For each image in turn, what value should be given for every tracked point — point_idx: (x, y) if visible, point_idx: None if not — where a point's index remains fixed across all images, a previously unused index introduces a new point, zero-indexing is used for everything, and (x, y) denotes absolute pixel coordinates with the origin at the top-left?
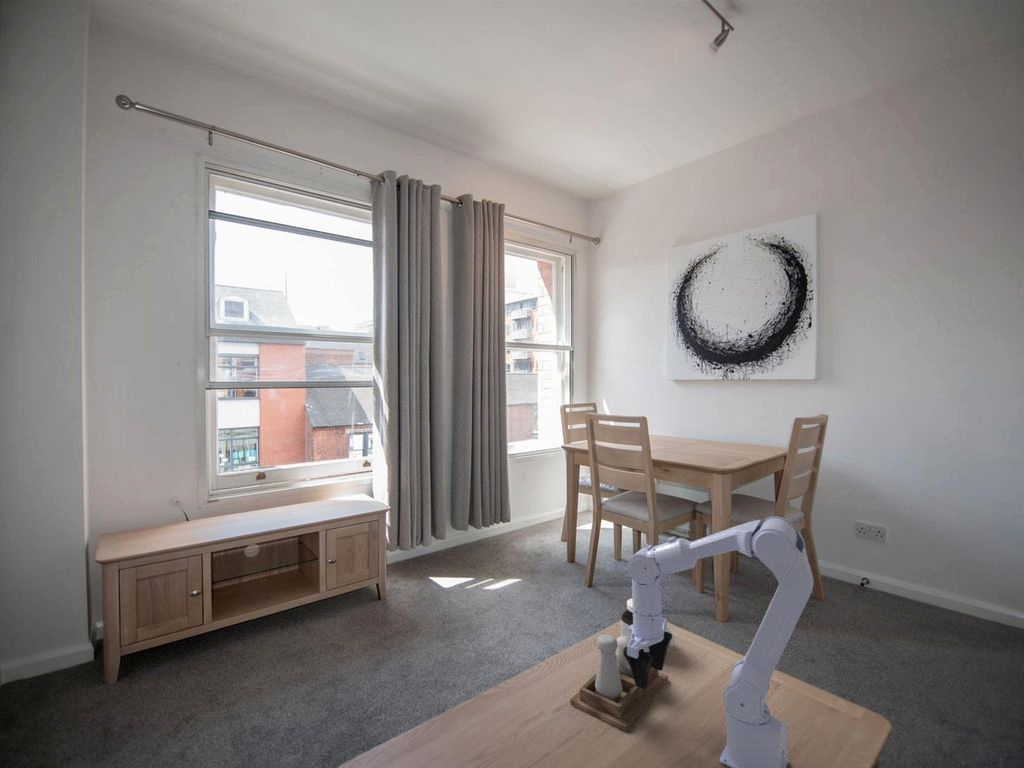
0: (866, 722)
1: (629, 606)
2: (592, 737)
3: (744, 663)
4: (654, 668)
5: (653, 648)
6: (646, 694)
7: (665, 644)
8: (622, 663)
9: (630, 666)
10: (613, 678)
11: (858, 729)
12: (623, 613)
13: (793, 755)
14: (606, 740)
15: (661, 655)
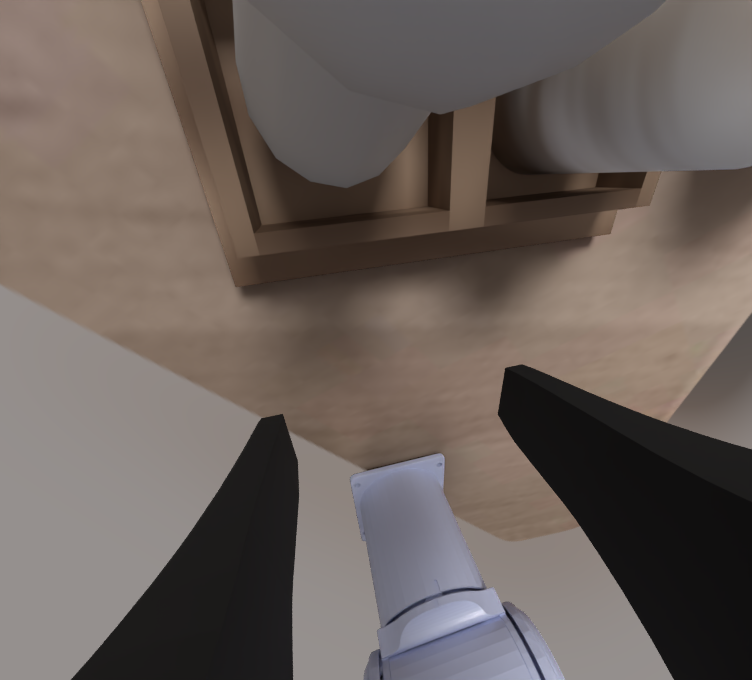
0: None
1: None
2: (72, 196)
3: None
4: (613, 209)
5: (624, 481)
6: (464, 234)
7: (659, 636)
8: None
9: (162, 577)
10: (308, 151)
11: (570, 517)
12: None
13: (460, 510)
14: (129, 254)
15: (570, 496)
